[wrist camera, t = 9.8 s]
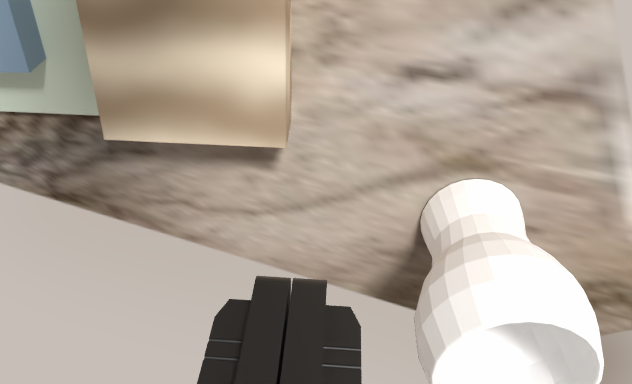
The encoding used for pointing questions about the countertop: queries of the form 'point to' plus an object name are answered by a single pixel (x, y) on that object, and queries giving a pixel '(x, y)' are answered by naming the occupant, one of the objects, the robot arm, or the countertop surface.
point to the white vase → (498, 298)
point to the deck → (191, 70)
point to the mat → (53, 67)
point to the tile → (19, 37)
